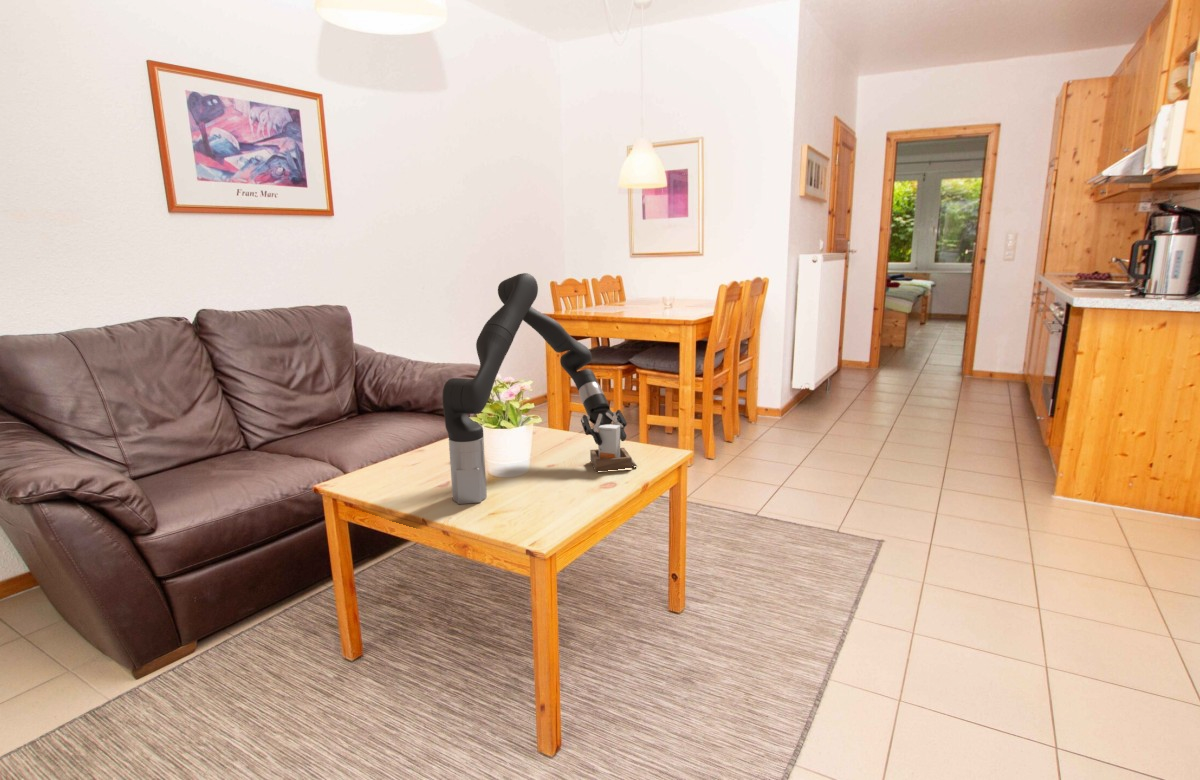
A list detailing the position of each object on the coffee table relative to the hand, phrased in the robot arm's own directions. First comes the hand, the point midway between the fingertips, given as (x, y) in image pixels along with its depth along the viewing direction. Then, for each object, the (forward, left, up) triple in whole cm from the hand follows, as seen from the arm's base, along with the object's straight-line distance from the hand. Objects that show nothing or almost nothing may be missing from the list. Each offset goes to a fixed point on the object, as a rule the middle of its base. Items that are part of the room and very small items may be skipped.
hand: (612, 442), depth 195 cm
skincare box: (+1, +1, -7) cm, 8 cm away
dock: (+1, -1, -8) cm, 8 cm away
